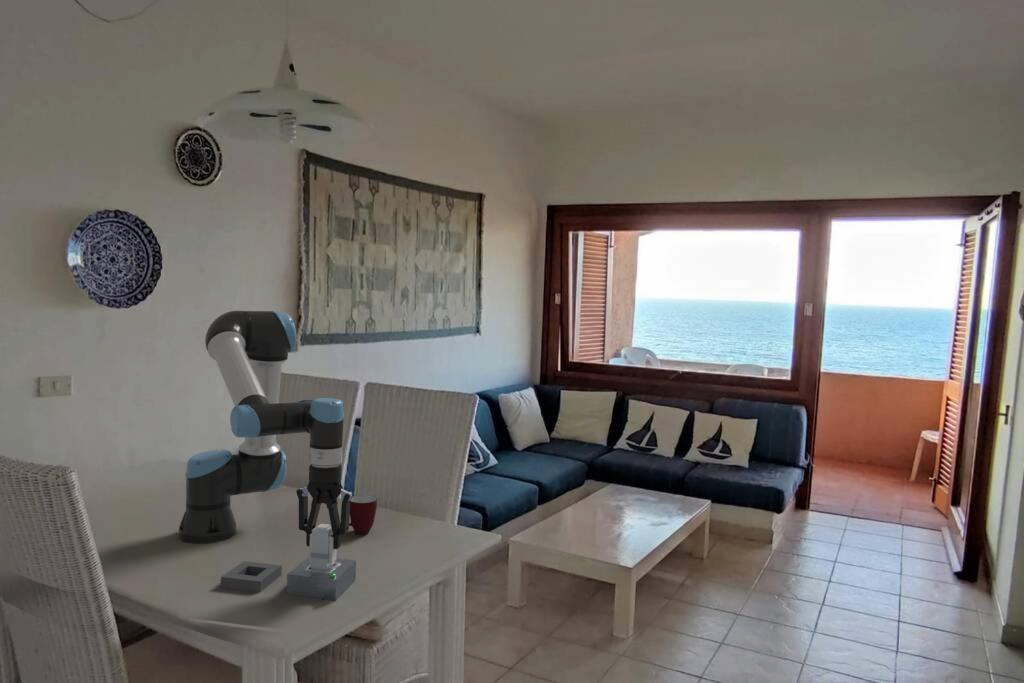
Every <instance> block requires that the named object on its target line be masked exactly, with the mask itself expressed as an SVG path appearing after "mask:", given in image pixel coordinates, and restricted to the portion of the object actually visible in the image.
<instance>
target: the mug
mask: <svg viewBox="0 0 1024 683" xmlns="http://www.w3.org/2000/svg"><path fill="white" fill-rule="evenodd" d="M377 509H378V499H377V497H376V496H373V495H369V494H360V495H355V496H354V495H353V496H352V499H351V501H350V517H349V520H350V522H349V527H352V529H353V530H354V533H355V534H357V535H366V534H369V533H370V531H371V529H372V527H373V525H374V523H375V518H376V514H377V513H376V512H377Z"/></svg>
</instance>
